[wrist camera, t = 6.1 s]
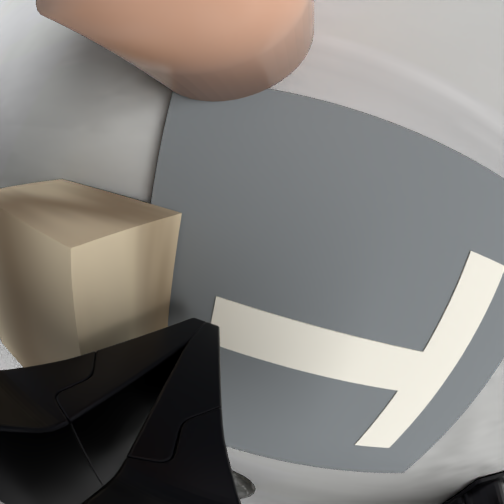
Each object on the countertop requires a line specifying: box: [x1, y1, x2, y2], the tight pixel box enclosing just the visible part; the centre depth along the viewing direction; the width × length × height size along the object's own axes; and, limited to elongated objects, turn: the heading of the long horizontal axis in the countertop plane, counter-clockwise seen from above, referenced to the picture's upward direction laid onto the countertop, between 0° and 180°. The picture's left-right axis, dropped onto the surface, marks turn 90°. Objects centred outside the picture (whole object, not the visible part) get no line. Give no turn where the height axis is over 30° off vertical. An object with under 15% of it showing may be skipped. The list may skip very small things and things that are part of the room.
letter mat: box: [151, 89, 504, 473], centre depth 8 cm, size 14×14×1 cm
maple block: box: [0, 179, 182, 367], centre depth 8 cm, size 6×6×4 cm
